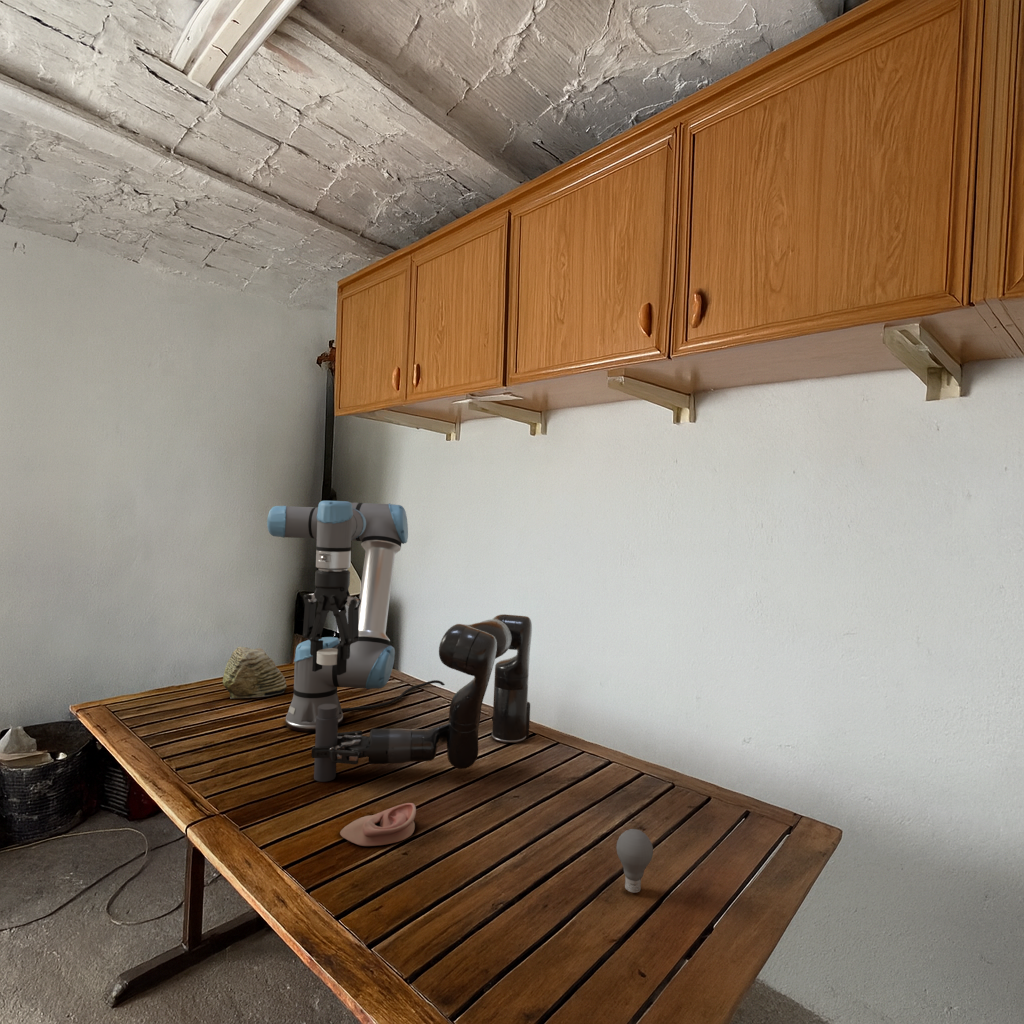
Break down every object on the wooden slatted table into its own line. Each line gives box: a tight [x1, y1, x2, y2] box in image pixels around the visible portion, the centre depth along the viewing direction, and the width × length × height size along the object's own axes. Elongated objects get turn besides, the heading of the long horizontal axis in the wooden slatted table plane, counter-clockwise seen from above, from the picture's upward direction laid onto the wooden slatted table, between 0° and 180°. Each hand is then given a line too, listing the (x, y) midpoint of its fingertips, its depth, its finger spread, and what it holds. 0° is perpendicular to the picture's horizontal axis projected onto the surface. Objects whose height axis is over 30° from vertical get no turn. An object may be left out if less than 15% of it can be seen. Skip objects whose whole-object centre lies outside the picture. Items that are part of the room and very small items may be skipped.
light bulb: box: [615, 828, 654, 894], centre depth 106 cm, size 6×6×10 cm
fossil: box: [222, 646, 288, 699], centre depth 198 cm, size 9×18×15 cm, turn 132°
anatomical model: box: [339, 802, 417, 847], centre depth 121 cm, size 13×4×12 cm
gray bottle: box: [313, 704, 339, 783], centre depth 143 cm, size 5×5×16 cm
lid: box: [317, 648, 338, 665], centre depth 143 cm, size 6×6×2 cm
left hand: (329, 671), depth 143 cm, fingers closed on lid, 6 cm apart
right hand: (313, 747), depth 142 cm, fingers closed on gray bottle, 4 cm apart
